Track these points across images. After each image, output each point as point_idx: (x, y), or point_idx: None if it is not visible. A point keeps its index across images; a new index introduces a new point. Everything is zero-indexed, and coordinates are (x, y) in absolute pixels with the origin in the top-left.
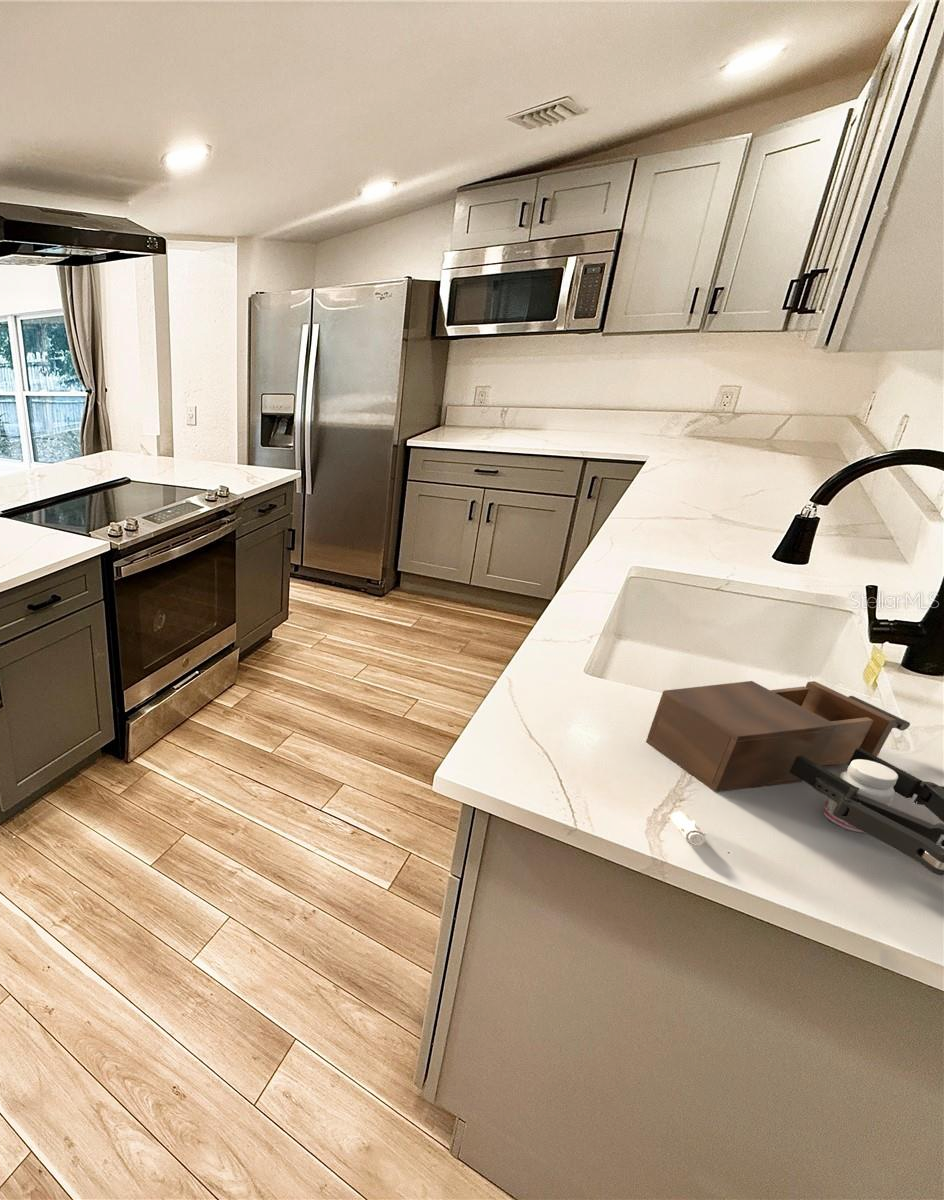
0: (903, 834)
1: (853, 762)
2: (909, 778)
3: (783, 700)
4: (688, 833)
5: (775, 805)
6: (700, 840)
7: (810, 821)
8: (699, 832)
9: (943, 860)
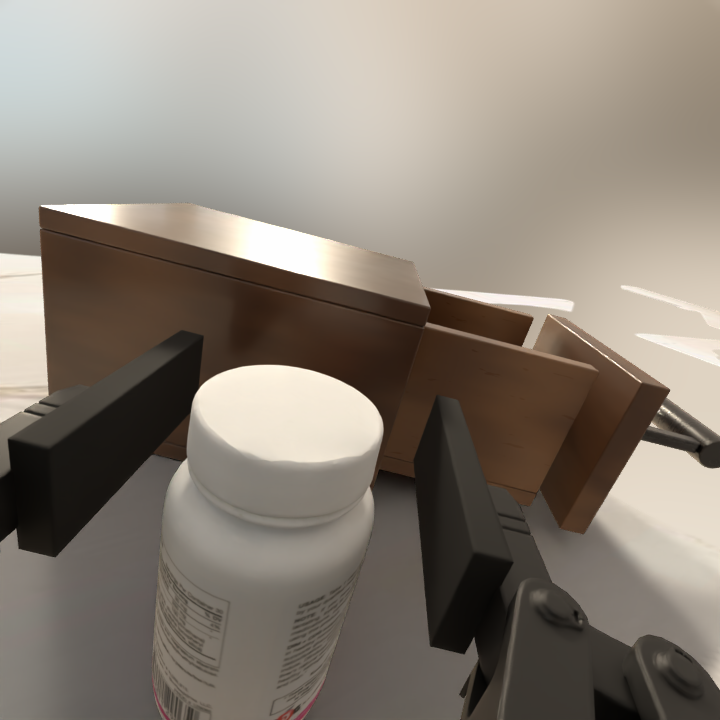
0: None
1: (268, 367)
2: (467, 528)
3: (403, 273)
4: None
5: (119, 514)
6: None
7: (99, 602)
8: None
9: None
